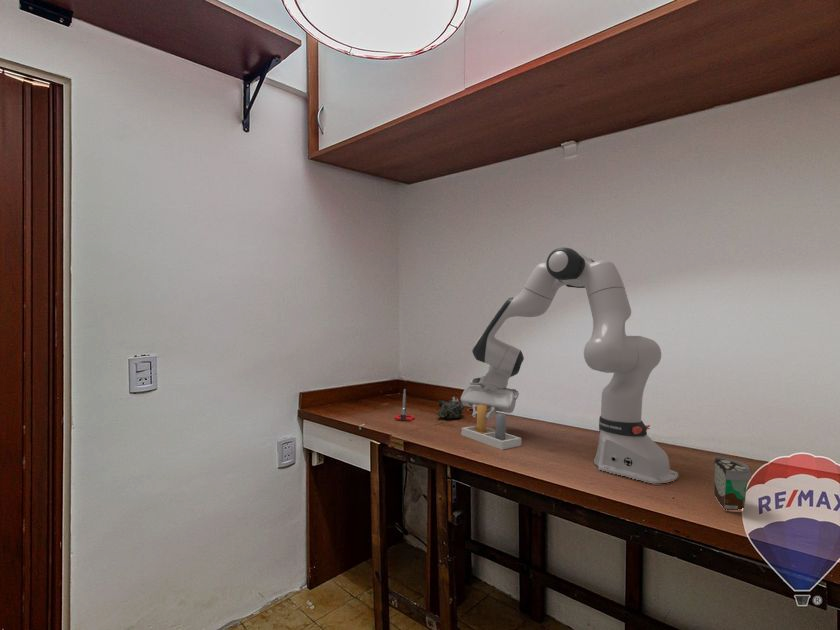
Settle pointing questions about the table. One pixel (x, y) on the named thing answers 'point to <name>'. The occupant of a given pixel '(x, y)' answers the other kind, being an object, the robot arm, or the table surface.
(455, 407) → the mineral specimen
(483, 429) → the domed orange pawn
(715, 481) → the food container
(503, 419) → the grey rounded peg
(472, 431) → the white divided tray
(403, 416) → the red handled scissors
